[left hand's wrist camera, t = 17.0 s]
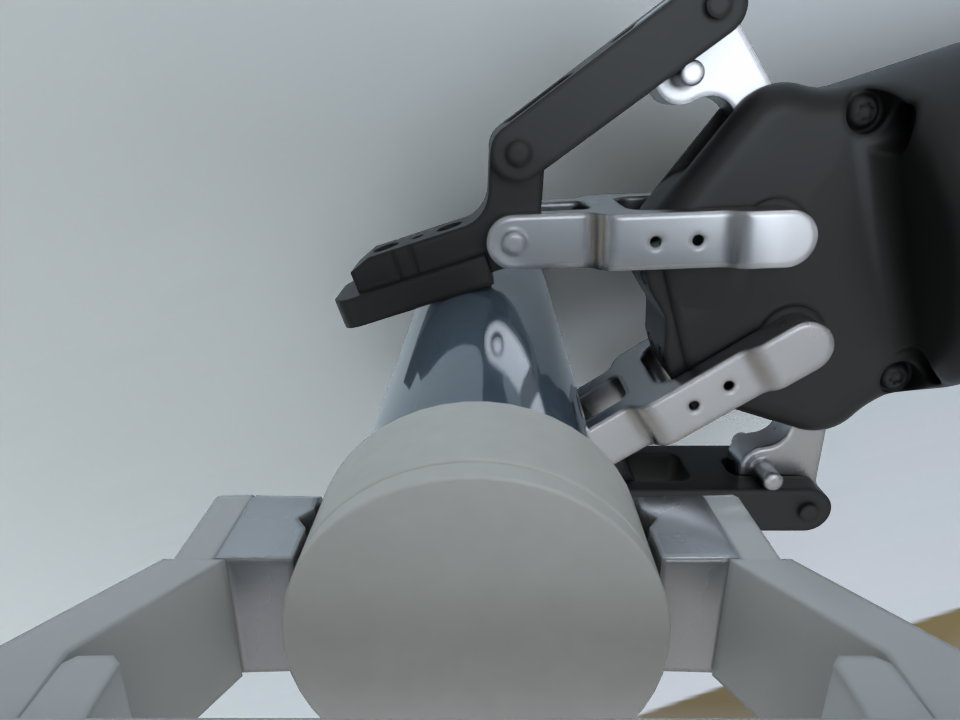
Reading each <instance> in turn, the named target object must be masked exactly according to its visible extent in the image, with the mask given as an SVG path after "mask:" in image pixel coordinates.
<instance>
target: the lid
mask: <svg viewBox="0 0 960 720" xmlns="http://www.w3.org/2000/svg"><path fill="white" fill-rule="evenodd" d="M670 637H671V623H670V611H669V606H668V602H667V598H666V593H665V590H664V587H663V584H662V582H661V579H660V576H659V574H658V570H657V567H656V564H655V562H654V559H653V556H652V553H651V550H650V547H649V544H648V541H647V539H646V536H645V533H644V530H643V527H642V524H641V521H640V519H639V516H638V513H637V510H636V507H635V504H634V502H633V499H632V497H631V494H630V492H629V489H628V487H627V485H626V483H625V481H624V480H623V478H622V476H621V474H620V473H619V471H618V469H617V468H616V467H615V466H614V464H613V463H612V462H611V461H610V459H609V458H608V457H607V456H606V455H605V453H604V452H603V451H601V450H600V449H599V448H598V447H597V446H596V445H595V444H594V443H593V442H592V441H591V440H590V439H588V438H587V437H585V436H584V435H582V434H581V433H580V432H578V431H577V430H575V429H574V428H572V427H571V426H569V425H567V424H565V423H563V422H561V421H559V420H557V419H555V418H553V417H551V416H548V415H546V414H543V413H540V412H538V411H535V410H532V409H529V408H524V407H520V406H516V405H512V404H506V403H497V402H488V401H468V402H457V403H449V404H442V405H438V406H434V407H430V408H426V409H422V410H419V411H416V412H413V413H411V414H408V415H406V416H403V417H401V418H398V419H397V420H395V421H393V422H391V423H389V424H387V425H385V426H384V427H382V428H380V429H379V430H377V431H376V432H375V433H373V434H372V435H371V436H369V437H368V438H366V439H365V440H364V441H363V442H362V443H361V444H360V445H359V446H358V447H356V448H355V449H354V450H353V451H352V452H351V453H350V454H349V456H348V457H347V458H346V459H345V461H344V462H343V463H342V465H341V466H340V467H339V468H338V470H337V472H336V473H335V475H334V477H333V479H332V481H331V482H330V484H329V486H328V488H327V491H326V493H325V496H324V498H323V501H322V503H321V505H320V508H319V510H318V513H317V515H316V518H315V520H314V523H313V525H312V527H311V530H310V532H309V535H308V537H307V540H306V542H305V544H304V547H303V549H302V552H301V554H300V557H299V559H298V561H297V564H296V566H295V569H294V571H293V574H292V576H291V579H290V582H289V585H288V587H287V590H286V593H285V598H284V604H283V609H282V639H283V646H284V652H285V656H286V659H287V663H288V666H289V669H290V672H291V674H292V676H293V678H294V680H295V682H296V684H297V686H298V688H299V690H300V692H301V693H302V695H303V696H304V698H305V699H306V701H307V702H308V704H309V705H310V706H311V708H312V709H313V710H314V711H315V712H316V713H317V714H318V716H319V717H320V718H635V717H636V716H637V715H638V714H639V713H640V712H641V711H642V710H643V708H644V707H645V705H646V704H647V702H648V701H649V699H650V698H651V696H652V695H653V693H654V692H655V690H656V687H657V685H658V683H659V681H660V679H661V677H662V675H663V671H664V668H665V664H666V661H667V658H668V654H669V646H670Z"/></svg>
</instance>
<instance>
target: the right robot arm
mask: <svg viewBox="0 0 960 720" xmlns="http://www.w3.org/2000/svg"><path fill="white" fill-rule="evenodd" d="M747 7H748V0H663V1H662V2H661V3H659V4H658V5H657V6H655V7H654V8H653V9H651V10H650V11H649V12H647V13H646V14H645V15H644V16H642V17H641V18H640V19H638V20H637V21H636V22H634V23H633V24H632V25H630V26H629V27H628V28H626V29H625V30H624V31H623V32H621V33H620V34H619V35H617V36H616V37H615V38H613V39H612V40H611V41H609V42H608V43H607V44H605V45H604V46H603V47H602V48H600V49H599V50H598V51H596V52H595V53H594V54H592V55H591V56H590V57H588V58H587V59H586V60H584V61H583V62H582V63H580V64H579V65H578V66H577V67H575V68H574V69H573V70H571V71H570V72H569V73H567V74H566V75H565V76H563V77H562V78H561V79H559V80H558V81H557V82H556V83H554V84H553V85H552V86H550V87H549V88H548V89H546V90H545V91H544V92H542V93H541V94H540V95H538V96H537V97H536V98H535V99H533V100H532V101H531V102H529V103H528V104H527V105H525V106H524V107H523V108H521V109H520V110H519V111H517V112H516V113H515V114H514V115H512V116H511V117H510V118H508V119H507V120H506V121H504V122H503V123H502V124H500V125H499V126H498V127H497V128H496V129H495V130H494V131H493V133H492V135H491V137H490V140H489V162H488V187H487V193H486V197H485V199H484V201H483V203H482V205H481V206H480V207H479V208H478V210H476V211H475V212H474V213H472V214H471V215H469V216H467V217H464V218H461V219H458V220H455V221H452V222H449V223H446V224H443V225H440V226H437V227H433V228H430V229H427V230H424V231H421V232H418V233H415V234H413V235H409V236H406V237H403V238H400V239H398V240H394V241H391V242H388V243H385V244H382V245H378V246H376V247H375V248H374V249H373V250H371V251H370V252H369V253H368V254H367V255H366V256H364V257H363V258H362V259H361V260H360V261H359V263H358V264H357V265H356V266H355V268H354V269H353V270H352V272H351V275H352V277H353V280H354V281H353V282H351V283H349V284H347V285H346V286H345V287H344V289H343V290H342V291H341V293H340V294H339V295H338V297H337V298H336V299H335V301H336V303H337V306H338V308H339V311H340V313H341V316H342V318H343V321H344V323H345V325H346V327H347V328H355V327H359V326H362V325H366V324H369V323H372V322H375V321H378V320H382V319H385V318H388V317H391V316H394V315H397V314H401V313H404V312H407V311H410V310H413V309H417V308H420V307H423V306H426V305H429V304H432V303H436V302H439V301H442V300H445V299H448V298H451V297H455V296H458V295H461V294H464V293H467V292H471V291H474V290H477V289H480V288H483V287H486V286H490V285H493V284H494V276H493V272H495V271H498V270H501V269H504V268H506V269H513V270H516V269H543V268H569V267H591V268H595V269H599V270H606V271H630V270H632V272H633V274H634V276H635V277H636V279H637V281H638V283H639V284H640V286H641V288H642V289H643V291H644V293H645V295H646V322H645V327H646V331H647V335H648V339H646V340H645V341H643V342H641V343H640V344H638V345H636V346H635V347H633V348H631V349H630V350H628V351H626V352H625V353H623V354H621V355H620V356H619V357H617V358H616V359H615V360H614V362H613V363H612V365H611V367H610V368H609V370H608V371H606V372H605V373H603V374H602V375H600V376H598V377H597V378H595V379H593V380H592V381H590V382H588V383H587V384H585V385H583V386H582V387H580V388H578V389H577V391H578V395H579V398H580V401H581V405H582V408H583V412H584V415H585V419H586V422H587V426H588V429H589V433H590V436H591V439H592V442H593V443H594V444H595V445H596V446H597V447H598V448H599V449H600V450H601V451H603V452H604V453H605V455H606V456H607V457H608V458H609V459H610V461H611V462H612V463H613V464H614V466H615V467H616V468H617V469H618V471H619V473H620V474H621V476H622V478H623V480H624V481H625V483H626V485H627V487H628V489H629V492H630V494H631V497H632V498H637V497H676V496H711V495H734V496H736V497H738V498H739V499H740V501H741V502H742V504H743V505H744V507H745V508H746V509H747V511H748V512H749V514H750V515H751V517H752V518H753V520H754V521H755V523H756V524H757V526H758V527H759V528H760V530H811V529H814V528H816V527H818V526H820V525H821V524H822V523H823V522H825V520H826V519H827V518H828V516H829V514H830V511H831V503H830V500H829V499H828V497H827V496H826V495H825V494H824V493H823V491H822V490H821V489H820V488H819V487H818V486H817V484H816V475H817V470H818V465H819V460H820V455H821V450H822V445H823V440H824V435H825V430H826V429H828V428H831V427H834V426H836V425H839V424H841V423H842V422H844V421H846V420H847V419H848V418H849V417H851V416H852V415H853V414H854V413H855V412H857V411H858V410H859V409H860V408H862V407H863V406H865V405H866V404H868V403H869V402H871V401H873V400H874V399H876V398H878V397H880V396H883V395H885V394H888V393H893V392H900V391H909V390H920V389H931V388H941V387H948V386H954V385H958V384H960V42H959V43H956V44H953V45H950V46H947V47H944V48H941V49H938V50H935V51H932V52H929V53H926V54H923V55H920V56H916V57H913V58H910V59H907V60H904V61H901V62H898V63H895V64H892V65H889V66H886V67H883V68H880V69H877V70H874V71H871V72H868V73H865V74H862V75H859V76H856V77H853V78H850V79H847V80H844V81H841V82H838V83H835V84H832V85H828V86H824V87H819V88H814V87H808V86H804V85H800V84H795V83H788V82H782V83H774V84H772V83H771V81H770V80H769V78H768V76H767V74H766V72H765V70H764V68H763V66H762V65H761V63H760V61H759V59H758V57H757V55H756V53H755V51H754V50H753V48H752V46H751V44H750V42H749V40H748V38H747V36H746V34H745V33H744V31H743V29H742V27H741V25H740V23H741V22H742V20H743V19H744V16H745V14H746V11H747ZM648 93H649V94H650V95H651V97H652V98H653V99H654V100H656V101H657V102H659V103H662V104H666V105H682V104H687V103H690V102H692V101H694V100H696V99H698V98H700V97H703V96H704V97H707V98H710V99H711V100H713V101H714V102H715V103H716V104H717V105H718V106H719V108H720V109H719V110H718V111H717V112H716V113H715V115H714V116H713V117H712V118H711V120H710V121H709V122H708V123H707V125H706V126H705V127H704V128H703V130H702V131H701V132H700V133H699V135H698V136H697V137H696V138H695V140H694V141H693V142H692V143H691V145H690V146H689V147H688V148H687V150H686V151H685V152H684V153H683V155H682V156H681V157H680V158H679V160H678V161H677V162H676V163H675V165H674V166H673V167H672V168H671V170H670V171H669V172H668V173H667V175H666V176H665V177H664V178H663V180H662V181H661V182H660V183H659V185H658V186H657V187H656V188H655V190H654V191H653V192H652V193H633V194H607V195H587V196H581V197H578V198H570V199H545V200H542V191H543V176H544V170H545V169H546V168H547V167H549V166H550V165H551V164H553V163H554V162H556V161H557V160H558V159H560V158H561V157H562V156H564V155H565V154H566V153H568V152H569V151H571V150H572V149H573V148H575V147H576V146H577V145H579V144H580V143H581V142H583V141H584V140H586V139H587V138H588V137H590V136H591V135H592V134H594V133H595V132H596V131H598V130H599V129H601V128H602V127H603V126H605V125H606V124H607V123H609V122H610V121H611V120H613V119H614V118H616V117H617V116H618V115H620V114H621V113H622V112H624V111H625V110H626V109H628V108H629V107H631V106H632V105H633V104H635V103H636V102H637V101H639V100H640V99H641V98H643V97H644V96H646V95H647V94H648ZM734 409H737V410H740V411H743V412H746V413H750V414H753V415H756V416H759V417H763V418H766V419H769V420H772V422H771V423H770V424H769V425H768V426H767V427H766V428H764V429H762V430H760V431H757V432H751V433H743V432H741V433H737V434H736V435H734V436H733V438H732V443H731V445H730V446H665V445H669V444H672V443H675V442H677V441H678V440H680V439H682V438H684V437H686V436H687V435H689V434H691V433H693V432H694V431H696V430H698V429H700V428H702V427H703V426H705V425H707V424H709V423H711V422H712V421H714V420H716V419H718V418H719V417H721V416H723V415H725V414H727V413H728V412H730V411H732V410H734ZM652 444H656V445H659V446H648V445H652Z"/></svg>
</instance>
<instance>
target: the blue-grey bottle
mask: <svg viewBox="0 0 960 720" xmlns="http://www.w3.org/2000/svg"><path fill="white" fill-rule="evenodd" d="M493 276H494V284H493V285H490V286H486V287H483V288H480V289H477V290H474V291H471V292H467V293H464V294H461V295H458V296H455V297H451V298H448V299H445V300H442V301H439V302H436V303H432V304H429V305H426V306H423V307H420V308H417V309H415V312H414V315H413V318H412V321H411V323H410V326H409V329H408V332H407V335H406V337H405V340H404V343H403V346H402V349H401V352H400V354H399V357H398V360H397V363H396V366H395V369H394V371H393V374H392V377H391V380H390V383H389V385H388V388H387V391H386V394H385V397H384V400H383V402H382V405H381V408H380V411H379V414H378V416H377V419H376V422H375V425H374V428H373V431H372V433H371V435H372V434H373V433H375V432H376V431H377V430H379V429H380V428H382V427H384V426H385V425H387V424H389V423H391V422H393V421H395V420H397V419H398V418H401V417H403V416H406V415H408V414H411V413H413V412H416V411H419V410H422V409H426V408H430V407H434V406H438V405H442V404H449V403H457V402H468V401H488V402H497V403H506V404H512V405H516V406H520V407H524V408H529V409H532V410H535V411H538V412H540V413H543V414H546V415H548V416H551V417H553V418H555V419H557V420H559V421H561V422H563V423H565V424H567V425H569V426H571V427H572V428H574V429H575V430H577V431H578V432H580V433H581V434H582V435H584V436H585V437H587V438H588V439H590V440H591V441H592V439H591V436H590V433H589V429H588V426H587V422H586V419H585V415H584V412H583V408H582V405H581V401H580V398H579V395H578V391H577V388H576V384H575V381H574V377H573V374H572V370H571V367H570V363H569V360H568V357H567V353H566V350H565V346H564V343H563V339H562V336H561V332H560V329H559V325H558V322H557V318H556V315H555V312H554V308H553V305H552V301H551V298H550V294H549V291H548V287H547V284H546V280H545V277H544V274H543V271H542V269H516V270H513V269H506V268H504V269H501V270H498V271H495V272H493Z"/></svg>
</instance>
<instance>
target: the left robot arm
mask: <svg viewBox="0 0 960 720" xmlns="http://www.w3.org/2000/svg"><path fill="white" fill-rule="evenodd" d="M632 499H633V502H634V504H635V507H636V510H637V513H638V516H639V519H640V521H641V524H642V527H643V530H644V533H645V536H646V539H647V541H648V544H649V547H650V550H651V553H652V556H653V559H654V562H655V564H656V567H657V570H658V574H659V576H660V579H661V582H662V584H663V587H664V590H665V593H666V598H667V602H668V606H669V611H670V623H671V637H670V646H669V654H668V658H667V661H666V664H665V668H664V671H683V672H713V673H712V675H713V676H714V677H715V678H716V679H717V680H718V681H719V682H720V683H721V684H722V685H723V686H724V687H725V688H726V689H727V690H728V691H729V692H730V693H732V694H733V695H734V696H735V697H736V698H737V699H738V700H739V701H740V702H741V703H742V704H743V705H744V706H745V707H746V708H747V709H748V710H749V711H750V712H752V713H753V714H754V715H755V716H756V717H757V718H198V717H199V716H200V715H201V714H202V713H203V712H204V711H205V710H207V709H208V708H209V707H210V706H211V705H212V704H213V703H214V702H215V701H216V700H217V699H218V698H219V697H220V696H221V695H222V694H224V693H225V692H226V691H227V690H228V689H229V688H230V687H231V686H232V685H233V684H234V683H235V682H236V681H237V680H238V679H240V678H241V677H242V672H271V671H290V669H289V666H288V663H287V659H286V656H285V652H284V646H283V639H282V609H283V604H284V598H285V593H286V590H287V587H288V585H289V582H290V579H291V576H292V574H293V571H294V569H295V566H296V564H297V561H298V559H299V557H300V554H301V552H302V549H303V547H304V544H305V542H306V540H307V537H308V535H309V532H310V530H311V527H312V525H313V523H314V520H315V518H316V515H317V513H318V510H319V508H320V505H321V503H322V501H323V499H322V497H311V496H260V495H257V496H253V495H223V496H220V497H217V498H216V499H215V500H214V502H213V503H212V505H211V506H210V508H209V509H208V511H207V512H206V513H205V515H204V516H203V518H202V519H201V521H200V522H199V524H198V525H197V526H196V528H195V529H194V531H193V532H192V534H191V535H190V537H189V538H188V539H187V541H186V542H185V544H184V545H183V547H182V548H181V550H180V551H179V553H178V554H177V555H176V557H175V558H174V559H163V560H161V561H159V562H157V563H155V564H153V565H151V566H150V567H148V568H146V569H144V570H142V571H140V572H138V573H136V574H134V575H133V576H131V577H129V578H127V579H125V580H123V581H121V582H119V583H118V584H116V585H114V586H112V587H110V588H108V589H106V590H104V591H102V592H101V593H99V594H97V595H95V596H93V597H91V598H89V599H87V600H85V601H84V602H82V603H80V604H78V605H76V606H74V607H72V608H70V609H69V610H67V611H65V612H63V613H61V614H59V615H57V616H55V617H53V618H52V619H50V620H48V621H46V622H44V623H42V624H40V625H38V626H36V627H35V628H33V629H31V630H29V631H27V632H25V633H23V634H21V635H20V636H18V637H16V638H14V639H12V640H10V641H8V642H6V643H4V644H3V645H1V646H0V720H960V650H959V649H958V648H956V647H954V646H952V645H950V644H948V643H946V642H945V641H943V640H941V639H939V638H937V637H935V636H933V635H932V634H930V633H928V632H926V631H924V630H922V629H920V628H918V627H917V626H915V625H913V624H911V623H909V622H907V621H905V620H904V619H902V618H900V617H898V616H896V615H894V614H892V613H891V612H889V611H887V610H885V609H883V608H881V607H879V606H877V605H876V604H874V603H872V602H870V601H868V600H866V599H864V598H863V597H861V596H859V595H857V594H855V593H853V592H851V591H850V590H848V589H846V588H844V587H842V586H840V585H838V584H836V583H835V582H833V581H831V580H829V579H827V578H825V577H823V576H822V575H820V574H818V573H816V572H814V571H812V570H810V569H808V568H807V567H805V566H803V565H801V564H799V563H797V562H795V561H794V560H792V559H780V558H779V556H778V555H777V553H776V552H775V550H774V549H773V547H772V546H771V545H770V543H769V542H768V540H767V539H766V537H765V536H764V534H763V533H762V531H761V530H760V528H759V527H758V526H757V524H756V523H755V521H754V520H753V518H752V517H751V515H750V514H749V512H748V511H747V509H746V508H745V507H744V505H743V504H742V502H741V501H740V499H739V498H738V497H736V496H734V495H711V496H676V497H637V498H632Z"/></svg>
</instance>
